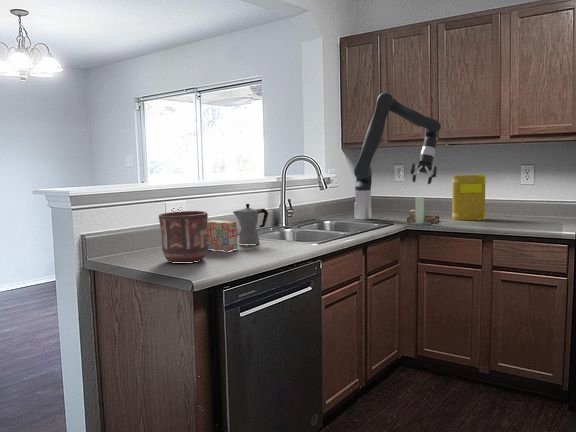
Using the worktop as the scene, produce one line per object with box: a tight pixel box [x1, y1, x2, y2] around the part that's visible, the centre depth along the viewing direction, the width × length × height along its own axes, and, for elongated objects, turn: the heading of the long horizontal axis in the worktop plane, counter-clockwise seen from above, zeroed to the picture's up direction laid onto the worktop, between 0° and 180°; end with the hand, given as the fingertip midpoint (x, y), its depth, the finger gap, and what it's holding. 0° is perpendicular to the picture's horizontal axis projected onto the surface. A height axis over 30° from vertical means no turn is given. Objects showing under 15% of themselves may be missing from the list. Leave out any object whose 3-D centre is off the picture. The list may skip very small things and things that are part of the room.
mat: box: [408, 222, 432, 226], centre depth 277 cm, size 10×8×1 cm
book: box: [451, 174, 487, 221], centre depth 290 cm, size 17×7×25 cm, turn 84°
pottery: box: [158, 210, 209, 262], centre depth 192 cm, size 18×18×18 cm
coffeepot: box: [232, 203, 269, 244], centre depth 226 cm, size 15×9×18 cm, turn 92°
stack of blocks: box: [207, 219, 239, 251], centre depth 215 cm, size 21×6×12 cm, turn 60°
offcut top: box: [408, 209, 416, 217], centre depth 288 cm, size 4×8×2 cm, turn 155°
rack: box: [406, 214, 440, 225], centre depth 286 cm, size 15×12×3 cm
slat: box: [415, 196, 425, 224], centre depth 276 cm, size 4×4×14 cm
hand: (421, 183), depth 292 cm, fingers open, 8 cm apart
